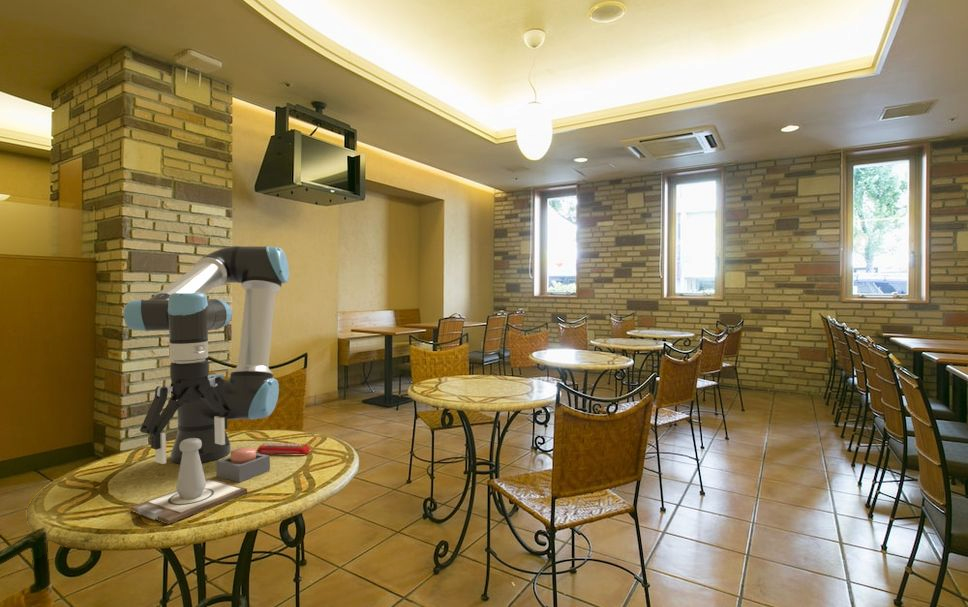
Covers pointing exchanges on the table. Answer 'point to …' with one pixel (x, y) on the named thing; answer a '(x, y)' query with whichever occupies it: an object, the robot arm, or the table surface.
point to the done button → (243, 455)
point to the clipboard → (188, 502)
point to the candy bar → (283, 448)
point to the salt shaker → (190, 470)
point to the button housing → (243, 468)
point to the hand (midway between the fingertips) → (192, 452)
